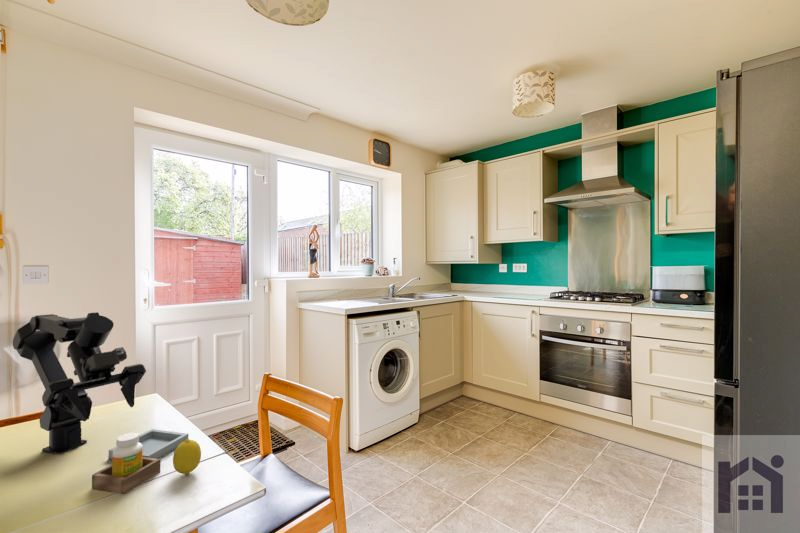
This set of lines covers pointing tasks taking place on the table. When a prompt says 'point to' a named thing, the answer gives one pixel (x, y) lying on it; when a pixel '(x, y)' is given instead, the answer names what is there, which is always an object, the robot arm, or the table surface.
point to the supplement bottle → (127, 455)
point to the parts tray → (158, 443)
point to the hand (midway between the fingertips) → (110, 412)
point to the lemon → (187, 456)
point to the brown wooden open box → (124, 485)
